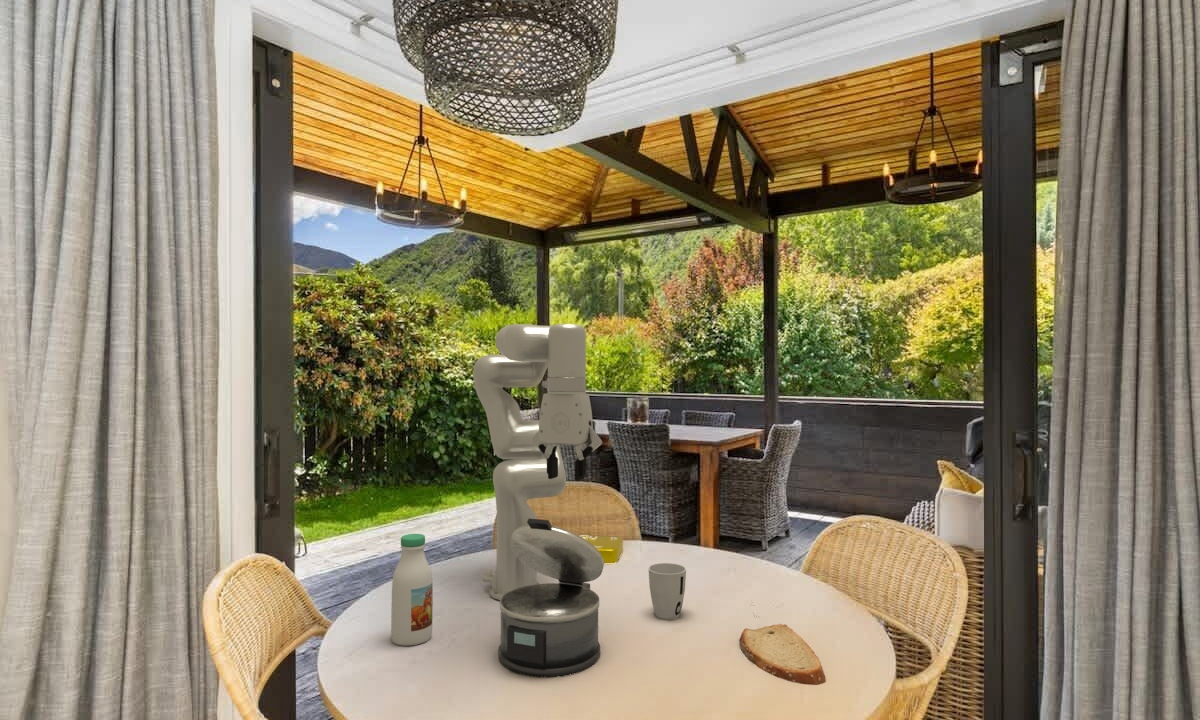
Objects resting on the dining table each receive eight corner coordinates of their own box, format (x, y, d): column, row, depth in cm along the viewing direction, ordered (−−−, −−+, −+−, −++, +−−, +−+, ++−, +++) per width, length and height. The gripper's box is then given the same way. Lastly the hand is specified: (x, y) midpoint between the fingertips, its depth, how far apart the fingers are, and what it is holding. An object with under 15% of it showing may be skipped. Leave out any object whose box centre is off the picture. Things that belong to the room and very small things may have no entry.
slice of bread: (821, 691, 105) (821, 668, 105) (718, 664, 114) (718, 643, 115) (844, 651, 120) (844, 631, 120) (751, 631, 130) (751, 612, 130)
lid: (491, 519, 117) (497, 507, 119) (530, 579, 130) (534, 567, 132) (584, 528, 110) (588, 515, 112) (614, 590, 124) (617, 577, 125)
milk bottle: (394, 650, 119) (396, 542, 120) (388, 635, 126) (389, 533, 127) (436, 642, 123) (437, 538, 123) (427, 628, 130) (428, 529, 130)
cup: (684, 623, 133) (684, 575, 133) (646, 620, 134) (646, 572, 135) (687, 609, 141) (687, 564, 141) (650, 607, 142) (650, 561, 143)
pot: (477, 667, 112) (477, 609, 113) (535, 622, 133) (535, 574, 133) (574, 686, 105) (574, 625, 106) (619, 636, 126) (619, 585, 126)
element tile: (563, 563, 177) (563, 545, 178) (574, 549, 192) (574, 533, 192) (616, 566, 175) (616, 548, 175) (623, 551, 190) (623, 535, 190)
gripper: (519, 386, 126) (518, 479, 125) (599, 387, 119) (599, 484, 119) (536, 386, 133) (536, 473, 132) (613, 386, 126) (613, 478, 126)
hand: (566, 477), depth 125 cm, fingers open, 5 cm apart
